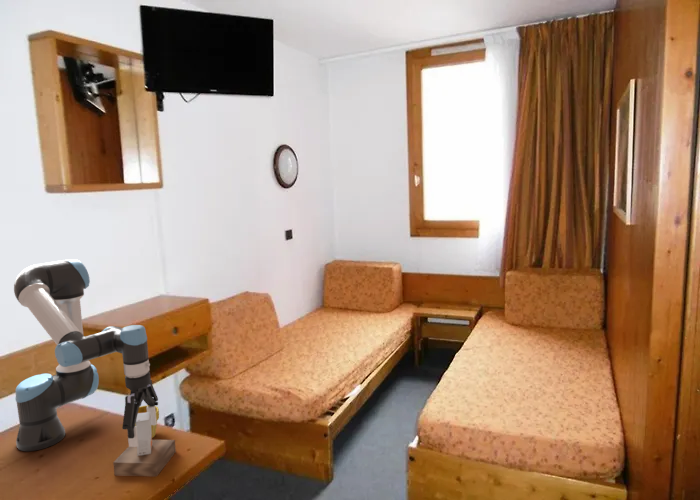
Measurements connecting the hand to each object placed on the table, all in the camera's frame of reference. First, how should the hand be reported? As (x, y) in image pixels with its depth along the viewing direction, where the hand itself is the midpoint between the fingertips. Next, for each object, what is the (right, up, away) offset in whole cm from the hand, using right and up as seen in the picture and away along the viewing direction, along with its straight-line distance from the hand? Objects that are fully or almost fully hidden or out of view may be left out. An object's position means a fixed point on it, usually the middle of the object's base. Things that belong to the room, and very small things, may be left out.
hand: (143, 435), depth 163 cm
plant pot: (-7, -8, +19) cm, 21 cm away
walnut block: (0, -10, +1) cm, 11 cm away
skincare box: (0, -5, +1) cm, 6 cm away
